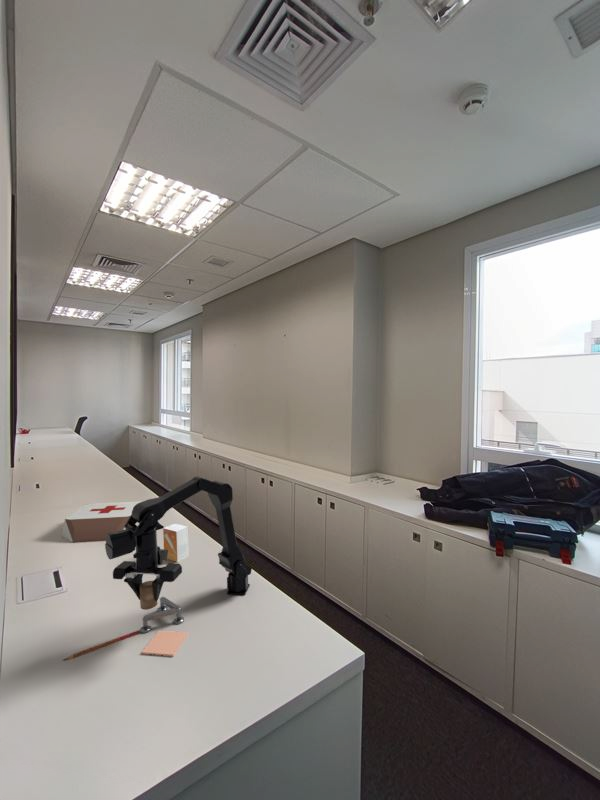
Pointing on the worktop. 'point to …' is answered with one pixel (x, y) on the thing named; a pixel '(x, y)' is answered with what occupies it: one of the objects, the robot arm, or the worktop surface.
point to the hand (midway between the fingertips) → (148, 599)
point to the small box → (176, 542)
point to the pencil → (102, 645)
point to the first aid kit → (97, 521)
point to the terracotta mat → (165, 643)
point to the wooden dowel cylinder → (147, 596)
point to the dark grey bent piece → (162, 614)
